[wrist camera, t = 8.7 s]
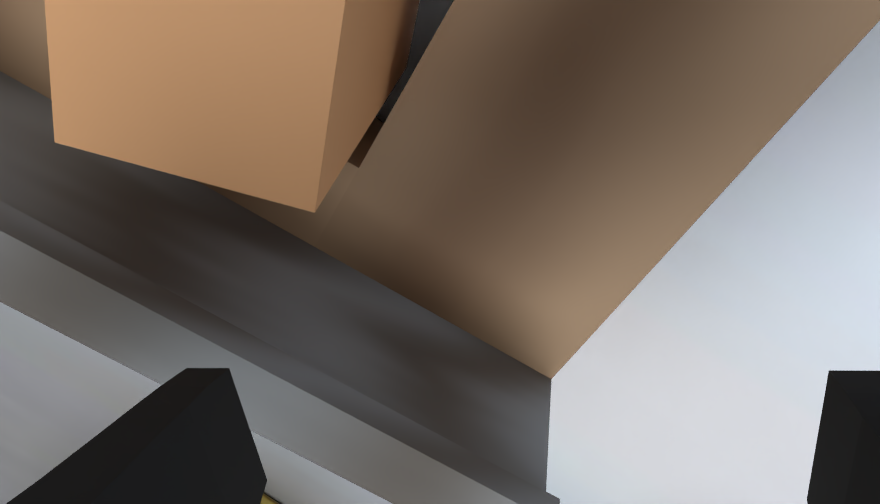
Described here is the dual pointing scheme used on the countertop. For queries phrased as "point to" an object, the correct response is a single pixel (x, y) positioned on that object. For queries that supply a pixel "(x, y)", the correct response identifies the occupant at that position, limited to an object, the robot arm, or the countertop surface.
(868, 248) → the countertop surface
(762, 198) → the countertop surface
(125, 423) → the robot arm
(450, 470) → the socket block
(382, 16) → the peg
